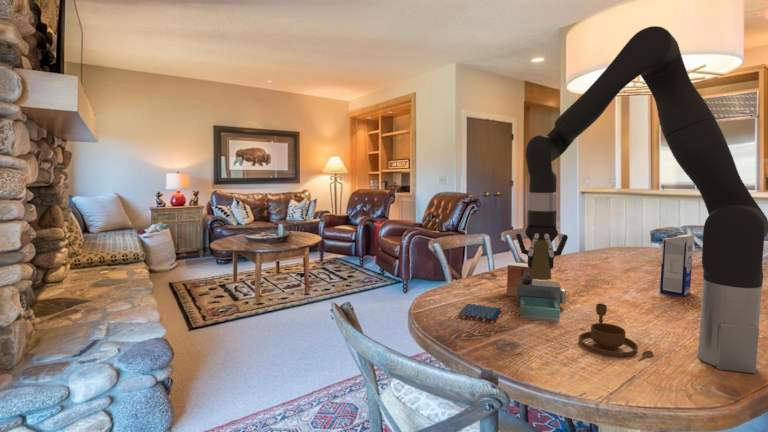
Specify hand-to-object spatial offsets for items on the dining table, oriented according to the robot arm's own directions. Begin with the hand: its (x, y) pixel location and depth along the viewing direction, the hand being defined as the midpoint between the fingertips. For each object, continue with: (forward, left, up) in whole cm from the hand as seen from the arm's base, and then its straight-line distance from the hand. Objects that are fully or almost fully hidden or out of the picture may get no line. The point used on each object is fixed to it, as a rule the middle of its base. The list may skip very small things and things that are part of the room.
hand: (540, 269), depth 112 cm
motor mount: (+3, -1, -13) cm, 14 cm away
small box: (+18, +5, -14) cm, 23 cm away
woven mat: (-5, +16, -14) cm, 22 cm away
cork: (0, 0, -3) cm, 3 cm away
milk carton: (+36, -44, -14) cm, 58 cm away
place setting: (-14, -16, -14) cm, 26 cm away
